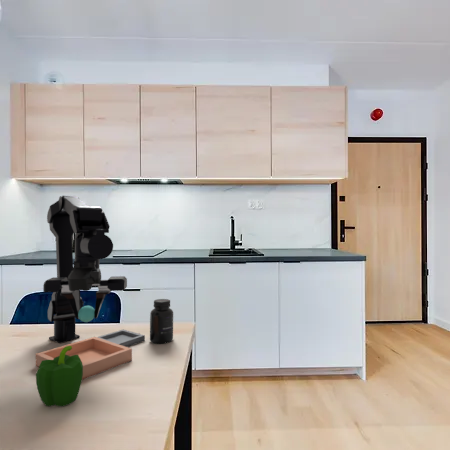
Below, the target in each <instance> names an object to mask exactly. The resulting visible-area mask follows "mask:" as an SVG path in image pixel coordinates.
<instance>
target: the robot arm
mask: <svg viewBox="0 0 450 450" xmlns="http://www.w3.org/2000/svg"><path fill="white" fill-rule="evenodd" d="M46 215H47V216H46V221H47V223H48V225H49V231H50V232H51V233H52V235H53V236H54V237H55V248H56V249H55V250H56V251H55V253H56V256H55V257H56V277H51V278H49V279H47V280H45V281H44V283H43V285H42V286H43V288H42V289H43V293H52V295H51V300H50V302H49V306H48V309H47V320H48V321H49V322H51V323H52V322H53V336H49V337H48V340H51V341H53V342H56V343H59V344H61V343H65V342H67V341H72V340H76V339H79V338H81V336H80V335H79V334H76V320H80V319H79V317H78V312H79V310H80V309H81V308H82V307H84V301H83V298H82V297H81V291H83V292H88V291H90V290H91V289H92V288H97V289H98V290H97V291H96V292H95V304H94V305H95V306H94V310H95V317H94V319H96V320H97V318H98V316H99V314H100V310H101V308H102V304H103V303H104V300H105V298H106V296H107V295H109V294H110V293H111V292H112V291H113V292H117V291H118V292H119V291H121V292H122V291H125V290H126V289H127V287H128V278H127V277H126V276H124V275H123V276H121V275H120V276H116V275H115V276H110V277H109V278H108V279H102V273H101V271H102V270H101V269H100V260H102V259H106V258H108V257H109V256H110V255H111V254H112V252H113V250H114V244H113V241H112V239H111V237H109V236H108V235H107V234H108V233H109V234H110V230H109V229H110V224H109V221H108V219H107V218H108V217H107V216H106V214H105V212H104V211H103V208H102V207H101V206H99V205H87V203H85V202H84V201H82V200H81V199H80V197H78V196H76V195H61V196H59V197H58V200H57V201H55V202H54V203H52V204H51V205H50V206H49V208H48V211H47V214H46ZM74 234H75V236H74V251H73V235H74ZM73 252H74V255H73ZM73 257H74V258H73ZM73 259H74V260H73Z"/></svg>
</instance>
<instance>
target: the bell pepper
mask: <svg viewBox="0 0 450 450" xmlns="http://www.w3.org/2000/svg"><path fill="white" fill-rule="evenodd" d="M71 349H72V346H66V347H65V348H63V350H62V351H61V353H60V356H58V357H55V358H54V359H53V360H43V361H42V362H41V364H40V366H39V368H38V367H37V371H36V373H35V385H36V388H37V392H38V395H39V399H40V400H41V402H42V403H43V404H44V406H46V407H51V406H52V407H53V406H57V407H64V406H65V407H66V406H68V405H70V404H72V403H73V402H75V401H76V399H77V398H78V396H79V392H80V389H81V386H82V381H83V380H82V376H83V365H82V361H81V359H80V358H79V356H78V355H73V356H68V355H65V354H66V352H67V351H70V350H71Z"/></svg>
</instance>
